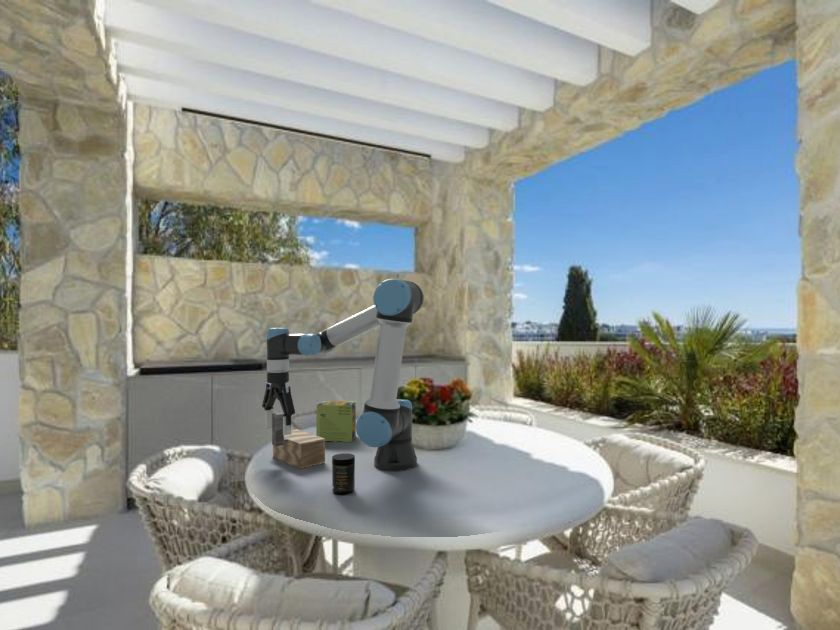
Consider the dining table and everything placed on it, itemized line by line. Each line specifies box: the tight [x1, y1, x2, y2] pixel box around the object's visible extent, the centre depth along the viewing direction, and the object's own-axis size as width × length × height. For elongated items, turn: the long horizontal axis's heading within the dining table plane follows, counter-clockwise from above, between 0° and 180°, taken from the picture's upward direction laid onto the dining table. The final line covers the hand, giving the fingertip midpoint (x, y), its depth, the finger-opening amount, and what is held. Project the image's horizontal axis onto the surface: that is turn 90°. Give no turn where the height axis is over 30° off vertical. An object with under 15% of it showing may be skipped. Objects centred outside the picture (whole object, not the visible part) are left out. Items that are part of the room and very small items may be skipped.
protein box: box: [315, 400, 357, 443], centre depth 203 cm, size 10×15×16 cm
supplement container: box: [331, 452, 356, 496], centre depth 141 cm, size 7×7×10 cm
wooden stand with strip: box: [271, 412, 325, 446], centre depth 171 cm, size 20×14×11 cm
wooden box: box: [272, 440, 326, 470], centre depth 173 cm, size 20×10×8 cm, turn 43°
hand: (277, 431), depth 167 cm, fingers open, 13 cm apart
